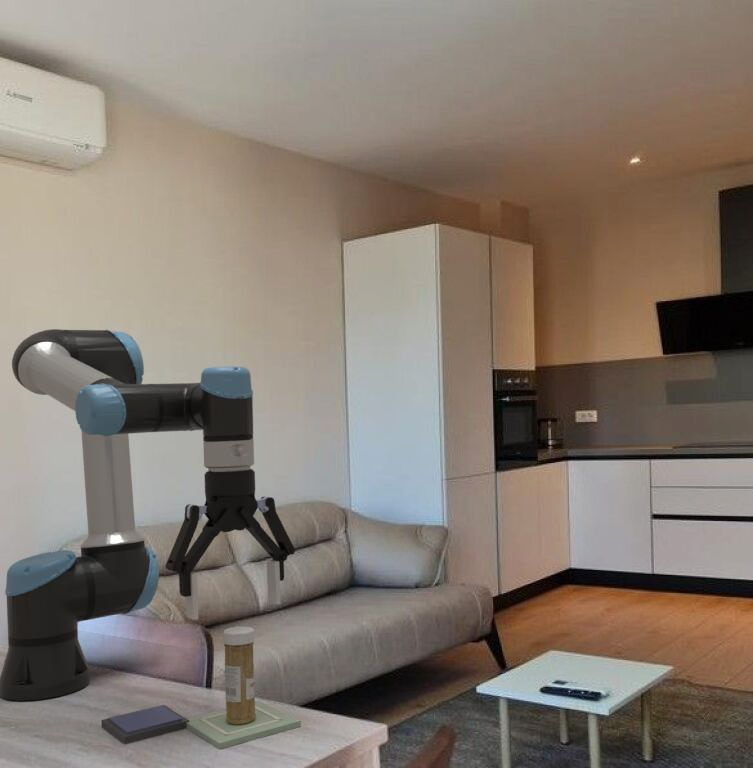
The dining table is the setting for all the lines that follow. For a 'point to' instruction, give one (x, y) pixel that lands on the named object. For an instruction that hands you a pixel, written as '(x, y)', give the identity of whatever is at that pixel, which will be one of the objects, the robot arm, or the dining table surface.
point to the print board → (241, 726)
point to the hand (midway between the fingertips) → (234, 610)
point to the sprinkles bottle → (239, 675)
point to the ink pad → (144, 724)
